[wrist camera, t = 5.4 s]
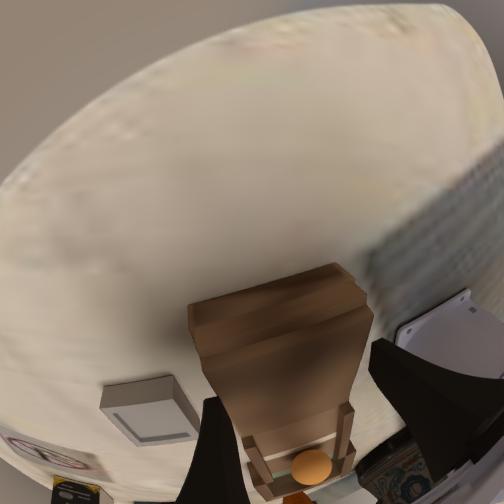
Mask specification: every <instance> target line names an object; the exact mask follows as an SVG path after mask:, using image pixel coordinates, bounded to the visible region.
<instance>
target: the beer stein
mask: <svg viewBox="0 0 504 504" xmlns="http://www.w3.org/2000/svg"><path fill="white" fill-rule="evenodd" d="M356 472H357V477H358V482H359V484H360V486H362V487H363V488H365V489H366V490H368V491H369V492H370V493H371V494H372V495H374V496H375V497H376V498H377V499H378V501H377V503H376V504H411V503H413V502H415V501H416V500H418V499H419V498H421V497H422V496H424V495H425V494H427V493H428V492H429V491H431V490H432V489H434V488H435V487H436V486H438V485H439V484H440V483H442V482H443V481H444V480H446V479H447V478H448V476H447V475H446V476H445V477H443V478H442V479H441V480H439V481H438V482H437V483H434V482H433V480H432V479H431V476H430V473H429V471H428V468H427V465H426V463H425V460H424V458H423V456H422V454H421V452H420V449H419V447H418V445H417V443H416V441H415V440H414V438H413V436H412V434H411V432H410V430H409V429H408V427H405V428H404V429H402V430H401V431H399V432H398V433H396V434H395V435H393V436H391V437H390V438H389V439H387V440H386V441H385V442H383V443H382V444H381V445H379V446H378V447H376V448H375V449H374V450H373V451H371V452H370V453H369V454H368V455H367V456H365V457H364V458H363V459H362V460H361V461H360V462H359V464H358V465H357V466H356ZM452 488H453V487H452ZM452 488H451V489H450V490H448V491H447V492H446V493H445V494H443V495H442V496H441V497H439V498H438V499H437V500H435V501H434V502H432V503H431V504H435V503H437V502H438V501H439V500H441V499H442V498H444V497H445V496H447V495H448V494H450V493H451V492H452Z"/></svg>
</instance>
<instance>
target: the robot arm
mask: <svg viewBox="0 0 504 504" xmlns="http://www.w3.org/2000/svg"><path fill="white" fill-rule="evenodd" d="M470 295H471V290H470V289H468V288H467V289H465V290H464V291H462V292H461V293H459V294H458V295H456V296H455V297H453V298H451V299H450V300H448V301H447V302H445V303H443V304H442V305H440V306H438V307H437V308H435V309H433V310H431V311H430V312H428V313H426V314H424V315H423V316H421V317H419V318H417V319H415V320H414V321H412V322H410V323H408V324H406V325H404V326H402V327H401V328H400V329H399V330H398V332H397V336H396V341H395V344H393V343H391V342H390V341H388V340H386V339H384V338H380V339H378V340H376V341H374V342H372V345H371V353H370V361H369V368H368V371H369V373H370V375H371V376H372V378H373V380H374V382H375V383H376V385H377V387H378V388H379V389H380V391H381V392H382V393H383V394H384V396H385V397H386V398H387V400H388V401H389V402H390V403H391V405H392V406H393V407H394V409H395V410H396V411H397V412H398V414H399V415H400V416H401V418H402V419H403V421H404V422H405V424H406V425H407V427H408V429H409V430H410V432H411V434H412V436H413V438H414V440H415V441H416V443H417V445H418V447H419V449H420V452H421V454H422V456H423V458H424V460H425V463H426V465H427V468H428V471H429V473H430V476H431V479H432V480H433V482H434V483H437V482H438V481H439V480H441V479H442V478H443V477H445V476H446V475H447V476H448V478H447V479H446V480H444V481H443V482H442V483H440V484H439V485H438V486H436V487H435V488H434V489H432V490H431V491H429V492H428V493H427V494H425V495H424V496H422V497H421V498H419V499H418V500H416V501H415V502H413V503H411V504H431V503H432V502H434V501H435V500H437V499H438V498H439V497H441V496H442V495H443V494H445V493H446V492H447V491H448V490H450V489H451V488H452V487H453V488H452V492H451V493H450V494H448V495H447V496H445V497H444V498H442V499H441V500H439V501H438V502H437V503H435V504H495V503H499V502H502V501H504V323H503V322H502V321H500V320H499V319H498V318H496V317H495V316H494V315H492V314H491V313H490V312H488V311H487V310H485V309H484V308H483V307H481V306H480V305H478V304H477V303H476V302H474V301H473V300H471V299H470ZM174 504H250V501H249V498H248V494H247V491H246V488H245V484H244V480H243V475H242V470H241V464H240V458H239V452H238V446H237V440H236V436H235V432H234V429H233V425H232V422H231V419H230V417H229V415H228V413H227V411H226V409H225V407H224V405H223V403H222V401H221V399H220V397H219V396H216V397H211V398H207V399H205V400H204V402H203V413H202V420H201V426H200V431H199V436H198V441H197V445H196V449H195V452H194V456H193V460H192V463H191V466H190V469H189V472H188V474H187V477H186V480H185V482H184V484H183V487H182V489H181V491H180V493H179V495H178V497H177V499H176V501H175V503H174Z"/></svg>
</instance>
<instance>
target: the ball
mask: <svg viewBox="0 0 504 504" xmlns="http://www.w3.org/2000/svg"><path fill="white" fill-rule="evenodd" d="M331 470H332V462H331V459H330V457H329V456H328V455H327V454H326V453H325V452H323V451H320V450H315V449H312V450H306V451H304V452H301V453H300V454H298V455H297V456H296V457H295V458H294V460H293V461H292V464H291V473H292V476H293V477H294V479H295V480H296V481H298V482H299V483H302V484H305V485H314V484H318V483H320V482H322V481H324V480H325V479H326V478H327V477H328V476H329V474H330V473H331Z"/></svg>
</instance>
